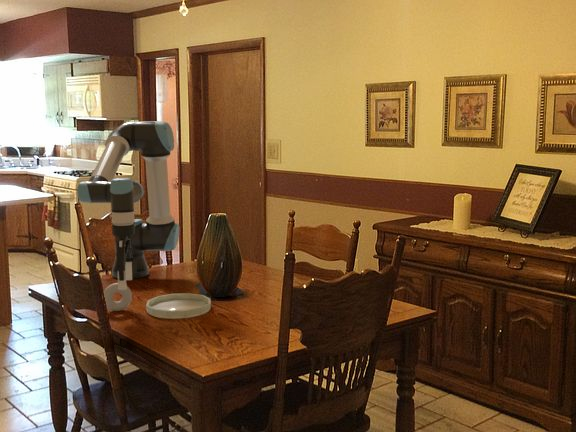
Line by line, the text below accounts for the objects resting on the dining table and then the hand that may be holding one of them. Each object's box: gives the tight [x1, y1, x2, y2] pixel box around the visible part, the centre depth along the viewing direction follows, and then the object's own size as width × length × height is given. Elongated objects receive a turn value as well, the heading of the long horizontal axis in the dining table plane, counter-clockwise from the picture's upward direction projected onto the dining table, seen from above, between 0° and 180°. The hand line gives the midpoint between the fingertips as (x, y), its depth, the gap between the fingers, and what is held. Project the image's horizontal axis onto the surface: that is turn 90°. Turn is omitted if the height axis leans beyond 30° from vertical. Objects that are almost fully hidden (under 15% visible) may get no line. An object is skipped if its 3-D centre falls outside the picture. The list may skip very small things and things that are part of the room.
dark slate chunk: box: [195, 282, 244, 299], centre depth 261 cm, size 15×22×5 cm
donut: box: [103, 282, 133, 312], centre depth 234 cm, size 10×4×10 cm, turn 110°
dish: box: [145, 292, 212, 320], centre depth 236 cm, size 22×22×3 cm
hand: (125, 284), depth 233 cm, fingers open, 13 cm apart
